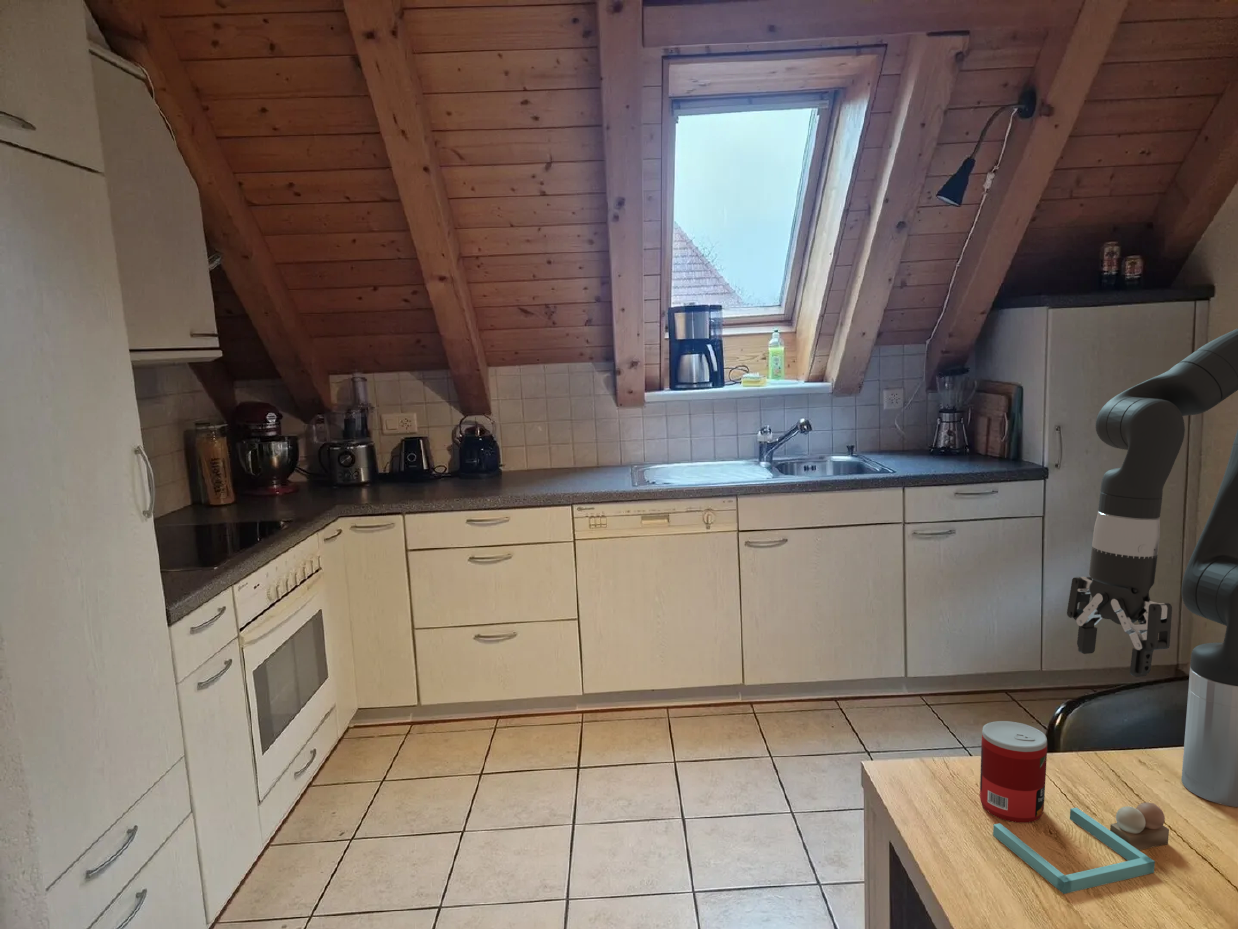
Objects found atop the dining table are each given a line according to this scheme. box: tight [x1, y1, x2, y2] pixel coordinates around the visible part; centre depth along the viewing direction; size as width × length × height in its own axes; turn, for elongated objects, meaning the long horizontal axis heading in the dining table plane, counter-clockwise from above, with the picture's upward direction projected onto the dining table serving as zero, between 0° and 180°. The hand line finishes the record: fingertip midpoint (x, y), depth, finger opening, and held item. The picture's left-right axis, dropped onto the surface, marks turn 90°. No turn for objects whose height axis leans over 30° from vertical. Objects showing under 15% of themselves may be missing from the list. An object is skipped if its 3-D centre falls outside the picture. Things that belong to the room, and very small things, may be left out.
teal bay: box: [992, 807, 1156, 895], centre depth 103 cm, size 13×12×2 cm
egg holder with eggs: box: [1109, 801, 1170, 851], centre depth 105 cm, size 6×3×5 cm, turn 104°
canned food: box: [979, 720, 1048, 824], centre depth 112 cm, size 8×8×11 cm
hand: (1111, 663), depth 112 cm, fingers open, 8 cm apart
